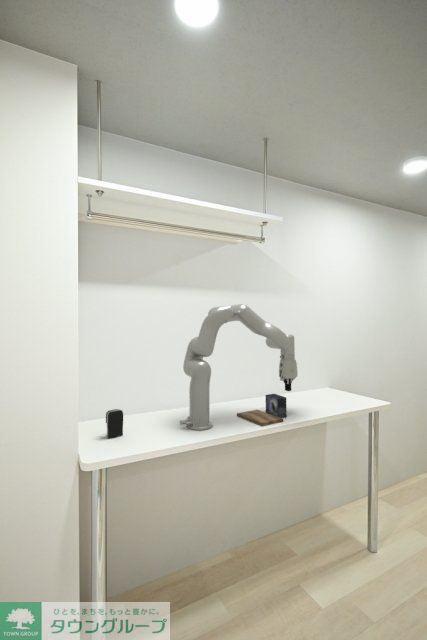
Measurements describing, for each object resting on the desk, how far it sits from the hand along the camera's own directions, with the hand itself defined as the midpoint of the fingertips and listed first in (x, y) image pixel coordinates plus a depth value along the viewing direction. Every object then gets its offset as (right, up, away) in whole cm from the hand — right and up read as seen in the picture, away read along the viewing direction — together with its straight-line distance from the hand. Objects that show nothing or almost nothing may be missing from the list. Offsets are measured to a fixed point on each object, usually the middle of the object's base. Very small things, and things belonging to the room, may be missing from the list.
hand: (288, 390), depth 177 cm
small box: (-8, -12, -5) cm, 15 cm away
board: (-17, -12, -11) cm, 24 cm away
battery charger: (-84, -12, -37) cm, 92 cm away
